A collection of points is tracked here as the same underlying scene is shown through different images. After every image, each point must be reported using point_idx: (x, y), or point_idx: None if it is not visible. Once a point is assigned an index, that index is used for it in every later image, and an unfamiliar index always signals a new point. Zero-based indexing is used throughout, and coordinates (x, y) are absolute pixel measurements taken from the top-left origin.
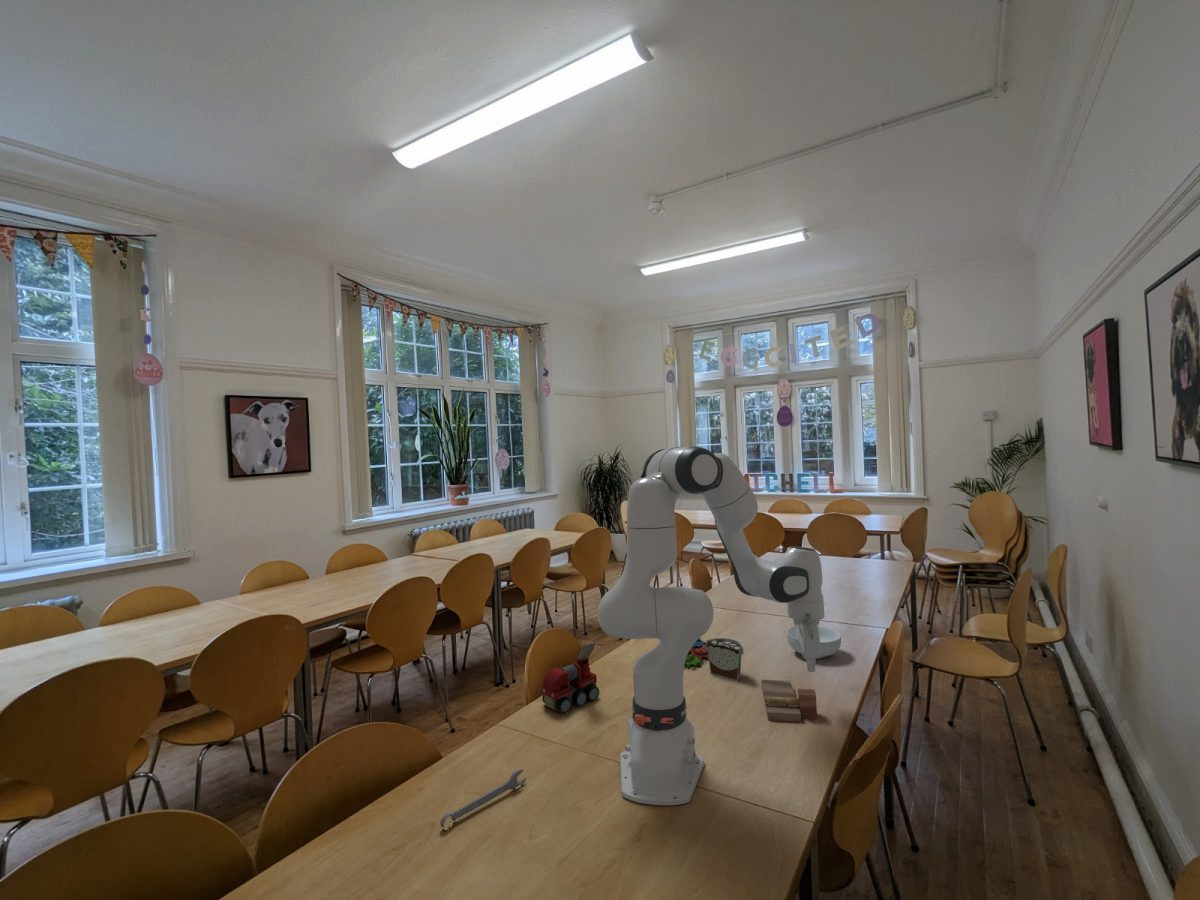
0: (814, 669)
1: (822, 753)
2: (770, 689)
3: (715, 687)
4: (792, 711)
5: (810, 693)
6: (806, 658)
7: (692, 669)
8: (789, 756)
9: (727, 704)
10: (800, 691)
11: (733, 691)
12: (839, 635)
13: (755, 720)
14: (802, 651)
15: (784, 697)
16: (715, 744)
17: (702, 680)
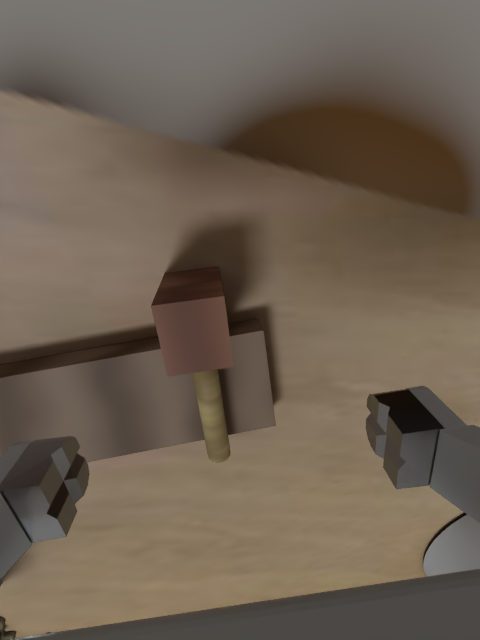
0: (433, 400)
1: (452, 249)
2: (84, 440)
3: (98, 553)
4: (248, 358)
5: (208, 321)
6: (77, 456)
7: (3, 622)
8: (466, 338)
9: (200, 509)
10: (198, 364)
11: (104, 513)
12: None
13: (278, 436)
14: (43, 539)
15: (137, 392)
16: (414, 488)
17: (65, 586)
